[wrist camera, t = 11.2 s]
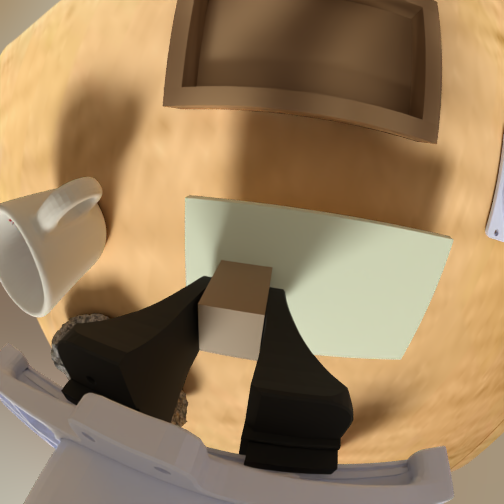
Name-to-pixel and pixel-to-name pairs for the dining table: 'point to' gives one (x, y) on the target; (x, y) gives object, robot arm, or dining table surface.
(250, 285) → the lid
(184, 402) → the rock
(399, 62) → the wooden tray
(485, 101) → the dining table surface
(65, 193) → the cup
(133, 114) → the dining table surface
